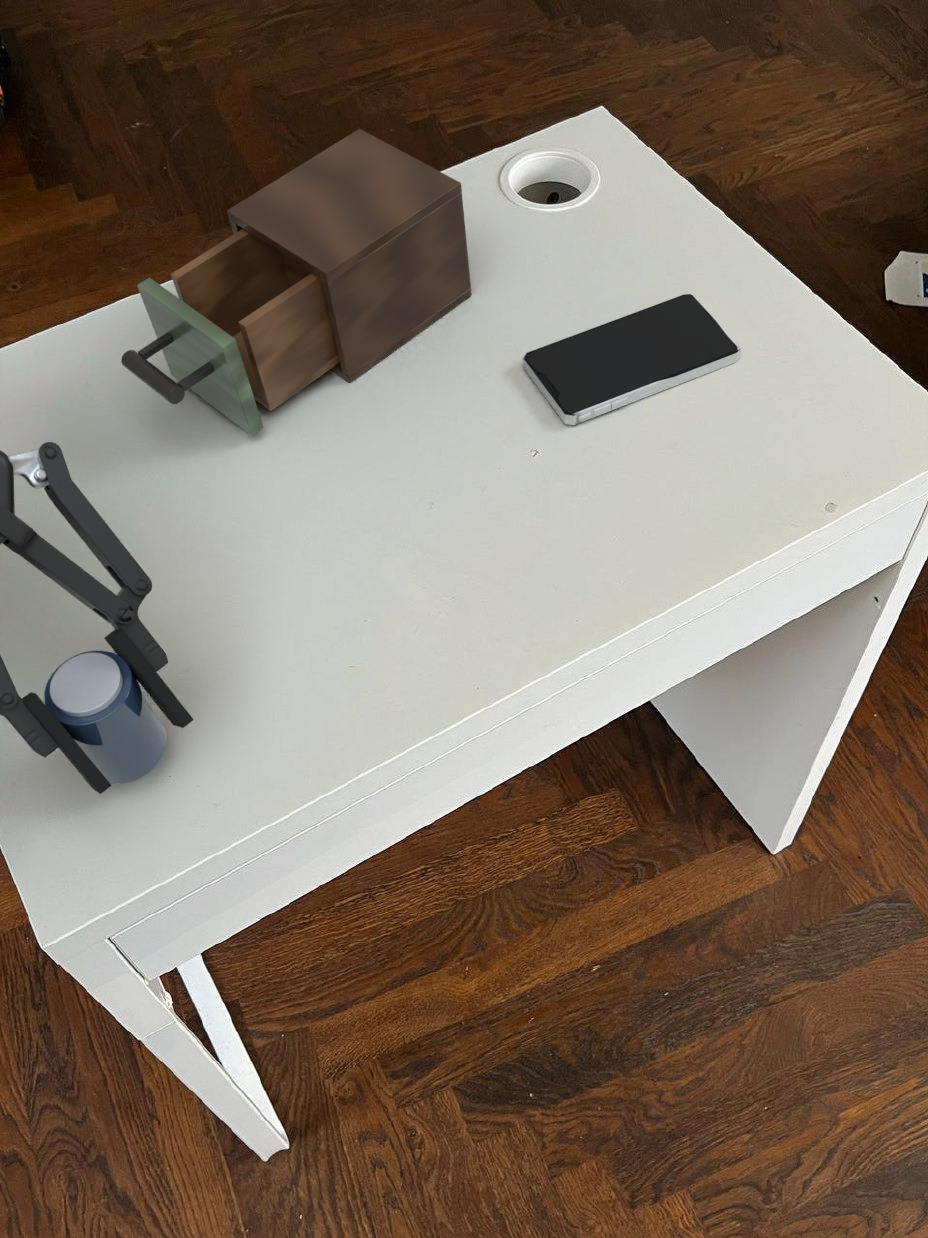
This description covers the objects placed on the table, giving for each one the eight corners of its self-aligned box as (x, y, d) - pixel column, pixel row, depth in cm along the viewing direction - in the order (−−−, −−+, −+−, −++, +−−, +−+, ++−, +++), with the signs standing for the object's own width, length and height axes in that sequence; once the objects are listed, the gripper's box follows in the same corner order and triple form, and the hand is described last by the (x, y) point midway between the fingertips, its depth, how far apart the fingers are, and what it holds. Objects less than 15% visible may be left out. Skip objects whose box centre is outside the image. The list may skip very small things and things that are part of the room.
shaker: (116, 799, 68) (72, 737, 62) (70, 749, 71) (23, 684, 65) (183, 745, 70) (146, 679, 64) (136, 698, 72) (96, 630, 66)
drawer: (208, 468, 85) (173, 380, 78) (128, 403, 90) (88, 314, 83) (374, 349, 91) (356, 257, 84) (291, 294, 96) (267, 202, 88)
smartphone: (744, 350, 87) (568, 418, 84) (742, 362, 88) (568, 430, 85) (688, 290, 92) (520, 353, 89) (687, 302, 93) (520, 365, 90)
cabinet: (350, 383, 90) (325, 273, 82) (258, 320, 95) (226, 210, 87) (472, 295, 95) (461, 182, 86) (378, 240, 100) (359, 128, 92)
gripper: (8, 339, 66) (248, 656, 72) (-288, 517, 60) (2, 851, 66) (20, 304, 60) (284, 657, 66) (-311, 501, 53) (15, 874, 59)
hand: (142, 753), depth 66 cm, fingers closed on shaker, 5 cm apart
